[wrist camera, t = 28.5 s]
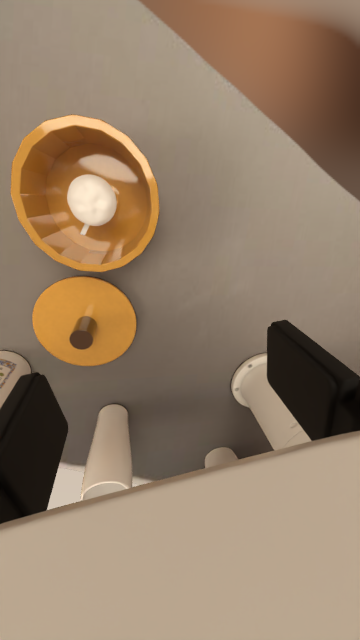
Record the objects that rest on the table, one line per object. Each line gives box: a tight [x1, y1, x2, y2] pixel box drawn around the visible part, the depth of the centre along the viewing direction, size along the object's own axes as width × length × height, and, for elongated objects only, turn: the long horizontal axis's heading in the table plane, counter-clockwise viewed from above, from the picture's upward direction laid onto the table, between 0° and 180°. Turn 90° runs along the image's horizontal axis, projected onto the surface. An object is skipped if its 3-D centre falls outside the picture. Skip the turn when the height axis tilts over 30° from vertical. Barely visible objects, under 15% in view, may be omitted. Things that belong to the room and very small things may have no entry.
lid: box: [32, 276, 136, 366], centre depth 36 cm, size 15×15×6 cm
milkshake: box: [67, 174, 117, 236], centre depth 28 cm, size 5×5×10 cm
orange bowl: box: [11, 115, 160, 272], centre depth 29 cm, size 14×14×8 cm
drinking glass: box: [81, 404, 132, 501], centre depth 41 cm, size 7×7×15 cm
